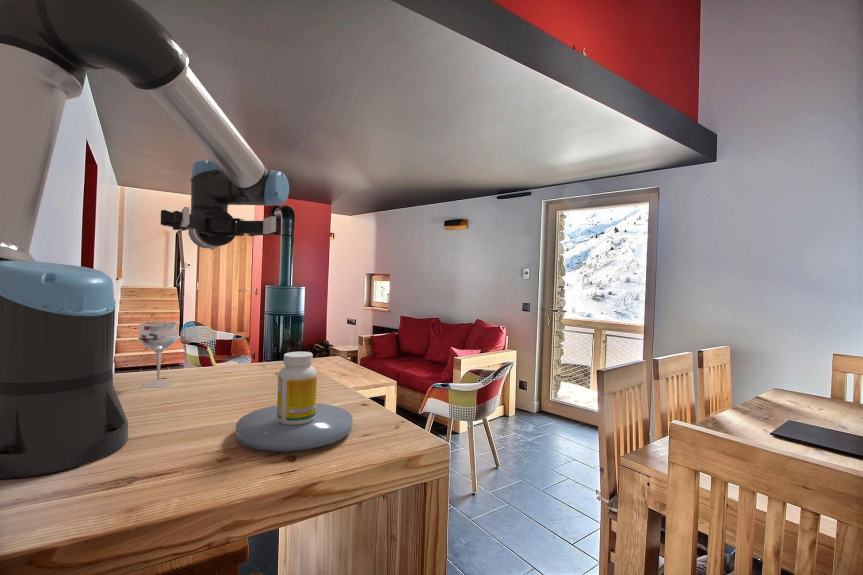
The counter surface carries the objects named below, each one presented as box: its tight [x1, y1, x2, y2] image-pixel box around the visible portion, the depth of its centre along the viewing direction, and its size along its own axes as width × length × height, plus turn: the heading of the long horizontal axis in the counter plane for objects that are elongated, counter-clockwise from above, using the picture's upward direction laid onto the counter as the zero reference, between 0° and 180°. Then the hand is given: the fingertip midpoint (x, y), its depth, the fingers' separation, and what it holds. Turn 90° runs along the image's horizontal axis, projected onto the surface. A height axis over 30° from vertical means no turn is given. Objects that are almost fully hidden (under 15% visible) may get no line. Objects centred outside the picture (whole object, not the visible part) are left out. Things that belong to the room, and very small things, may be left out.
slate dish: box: [235, 402, 353, 452], centre depth 62 cm, size 16×16×2 cm
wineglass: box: [137, 321, 180, 389], centre depth 85 cm, size 7×7×12 cm
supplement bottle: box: [276, 351, 318, 425], centre depth 62 cm, size 5×5×10 cm
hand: (232, 219), depth 73 cm, fingers open, 13 cm apart
